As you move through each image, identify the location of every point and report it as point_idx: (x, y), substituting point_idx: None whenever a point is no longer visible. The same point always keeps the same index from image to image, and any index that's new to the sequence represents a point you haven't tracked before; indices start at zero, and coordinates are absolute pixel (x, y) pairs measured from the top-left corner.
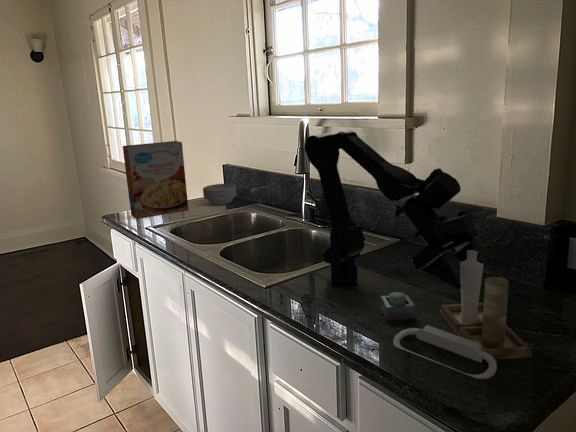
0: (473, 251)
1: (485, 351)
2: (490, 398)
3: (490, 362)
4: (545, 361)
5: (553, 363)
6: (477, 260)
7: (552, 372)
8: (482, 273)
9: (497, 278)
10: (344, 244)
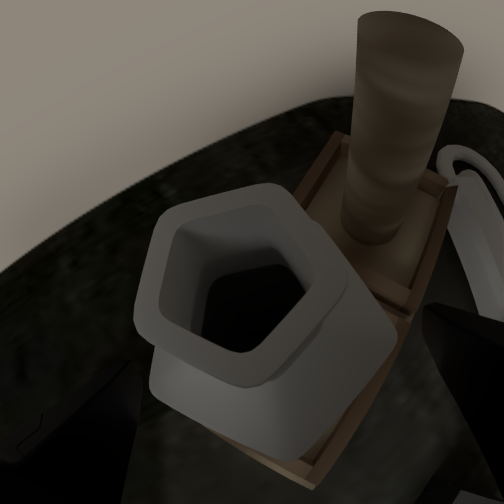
0: (164, 291)
1: (442, 176)
2: (482, 137)
3: (453, 154)
4: (305, 139)
5: (298, 130)
6: (66, 407)
7: (330, 117)
8: (128, 360)
9: (388, 35)
10: None
